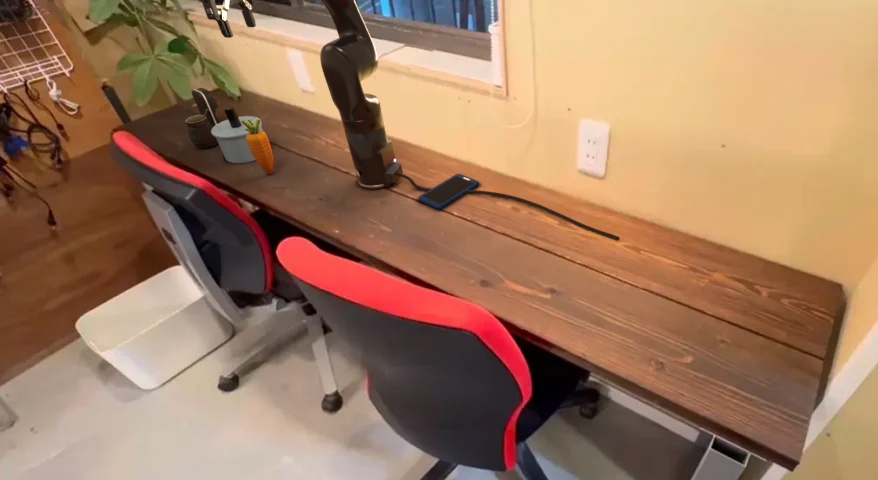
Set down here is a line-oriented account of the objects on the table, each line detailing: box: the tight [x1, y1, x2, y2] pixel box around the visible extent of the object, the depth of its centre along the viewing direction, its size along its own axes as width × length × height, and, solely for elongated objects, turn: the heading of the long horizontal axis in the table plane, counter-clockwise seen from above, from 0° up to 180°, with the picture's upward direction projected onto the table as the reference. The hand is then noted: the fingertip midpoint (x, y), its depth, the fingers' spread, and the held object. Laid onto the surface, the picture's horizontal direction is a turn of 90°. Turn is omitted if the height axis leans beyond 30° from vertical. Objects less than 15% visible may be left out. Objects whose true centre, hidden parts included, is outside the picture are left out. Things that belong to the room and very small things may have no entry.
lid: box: [211, 105, 263, 138], centre depth 136 cm, size 13×13×6 cm
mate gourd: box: [184, 108, 218, 150], centre depth 145 cm, size 7×8×10 cm
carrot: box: [242, 118, 274, 175], centre depth 128 cm, size 5×5×15 cm
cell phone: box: [418, 173, 480, 210], centre depth 122 cm, size 7×14×1 cm, turn 140°
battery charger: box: [191, 87, 220, 127], centre depth 153 cm, size 7×4×11 cm, turn 50°
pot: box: [216, 125, 265, 164], centre depth 140 cm, size 12×12×7 cm
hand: (240, 31), depth 126 cm, fingers open, 8 cm apart
